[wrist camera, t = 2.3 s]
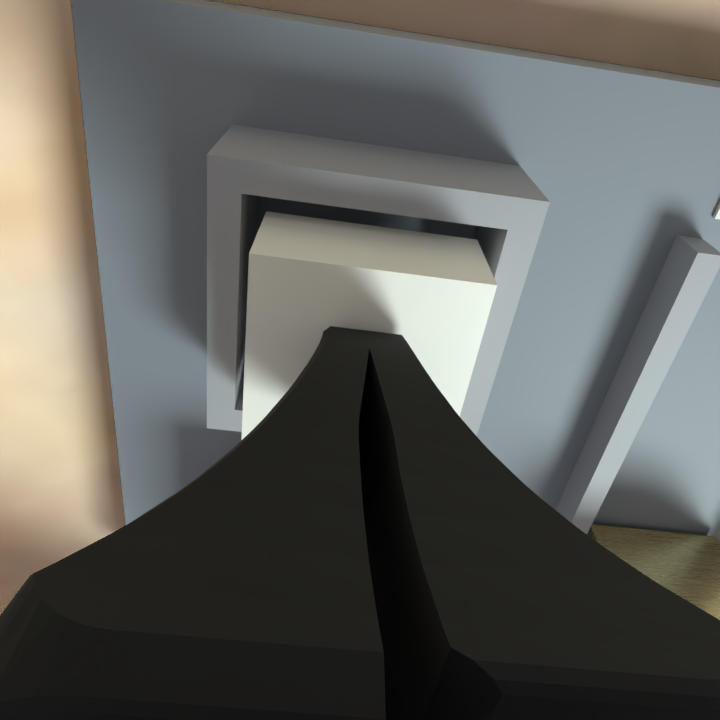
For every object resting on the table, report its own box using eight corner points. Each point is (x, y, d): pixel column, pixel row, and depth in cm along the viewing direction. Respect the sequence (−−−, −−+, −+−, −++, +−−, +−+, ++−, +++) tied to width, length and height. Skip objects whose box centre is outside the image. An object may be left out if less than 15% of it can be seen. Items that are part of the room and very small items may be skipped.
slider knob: (662, 615, 21) (712, 723, 18) (549, 605, 20) (581, 712, 17) (715, 536, 18) (783, 643, 15) (590, 524, 18) (634, 630, 15)
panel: (691, 603, 24) (752, 719, 20) (150, 553, 22) (108, 669, 19) (1022, 128, 14) (1257, 182, 10) (108, -16, 13) (2, -13, 9)
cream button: (434, 406, 14) (445, 467, 12) (256, 386, 13) (241, 446, 12) (477, 239, 11) (497, 285, 10) (265, 211, 11) (249, 253, 9)
